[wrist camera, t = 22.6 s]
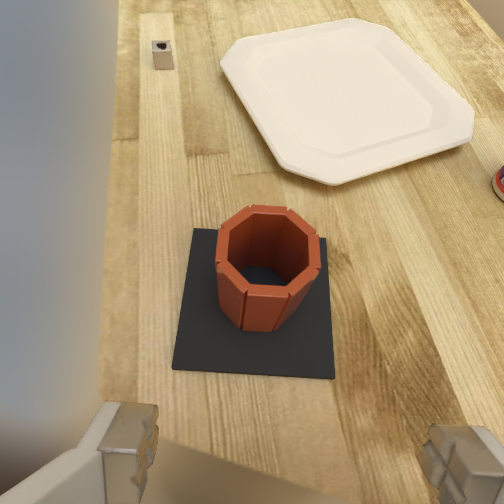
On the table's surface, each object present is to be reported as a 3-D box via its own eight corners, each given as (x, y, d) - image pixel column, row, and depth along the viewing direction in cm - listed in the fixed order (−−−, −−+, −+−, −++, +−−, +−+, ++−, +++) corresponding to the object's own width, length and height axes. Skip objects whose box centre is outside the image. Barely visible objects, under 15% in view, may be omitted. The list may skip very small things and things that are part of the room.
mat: (333, 379, 24) (335, 378, 23) (172, 369, 24) (171, 368, 23) (324, 240, 30) (326, 237, 29) (194, 231, 29) (193, 227, 29)
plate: (485, 145, 37) (499, 130, 35) (295, 208, 31) (300, 194, 29) (368, 28, 47) (375, 11, 45) (208, 60, 41) (207, 42, 39)
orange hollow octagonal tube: (296, 333, 25) (323, 299, 18) (216, 329, 25) (211, 293, 18) (294, 262, 28) (317, 208, 21) (223, 257, 28) (221, 201, 20)
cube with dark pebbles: (172, 58, 41) (169, 38, 39) (173, 69, 40) (170, 48, 38) (155, 59, 41) (151, 38, 38) (155, 70, 40) (151, 49, 37)
